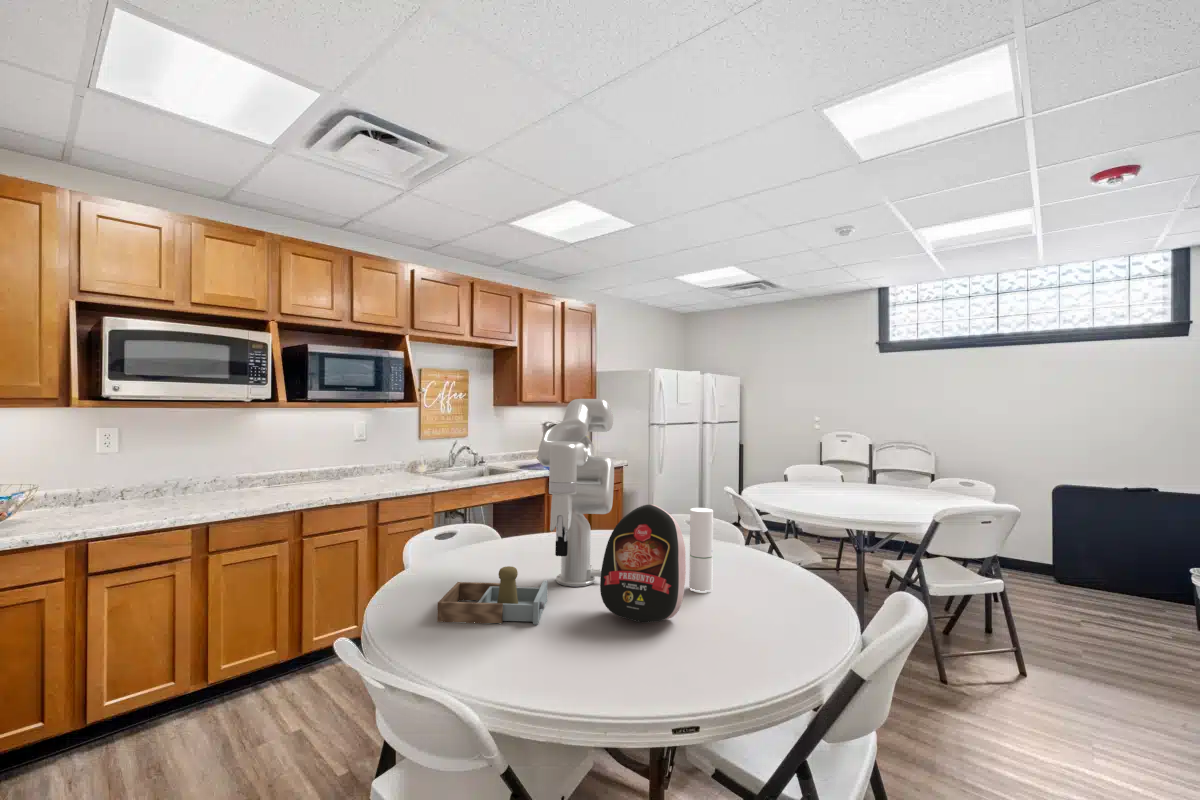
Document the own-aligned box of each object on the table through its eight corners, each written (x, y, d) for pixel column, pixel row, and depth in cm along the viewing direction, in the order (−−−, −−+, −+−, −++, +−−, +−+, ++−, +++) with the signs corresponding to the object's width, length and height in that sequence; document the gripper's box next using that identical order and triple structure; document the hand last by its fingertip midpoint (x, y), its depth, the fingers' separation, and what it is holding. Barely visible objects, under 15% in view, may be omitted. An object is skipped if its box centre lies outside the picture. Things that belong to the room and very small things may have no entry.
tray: (550, 600, 156) (551, 580, 156) (541, 624, 138) (541, 602, 138) (491, 598, 156) (491, 579, 156) (474, 622, 139) (475, 600, 139)
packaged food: (592, 624, 139) (594, 509, 140) (616, 600, 158) (617, 498, 158) (675, 638, 132) (676, 516, 132) (690, 610, 150) (691, 503, 151)
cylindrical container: (714, 588, 170) (715, 509, 170) (709, 594, 163) (710, 512, 164) (692, 584, 173) (693, 507, 173) (686, 591, 166) (687, 510, 167)
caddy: (514, 600, 156) (515, 583, 156) (501, 624, 139) (501, 604, 139) (457, 599, 157) (457, 581, 157) (437, 622, 140) (437, 602, 140)
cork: (497, 603, 150) (498, 564, 150) (519, 603, 151) (519, 564, 151) (495, 611, 144) (496, 570, 144) (517, 611, 145) (518, 570, 145)
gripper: (552, 484, 155) (551, 548, 154) (545, 491, 140) (543, 562, 139) (578, 485, 155) (577, 549, 154) (573, 492, 140) (572, 563, 139)
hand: (561, 555), depth 147 cm, fingers closed
